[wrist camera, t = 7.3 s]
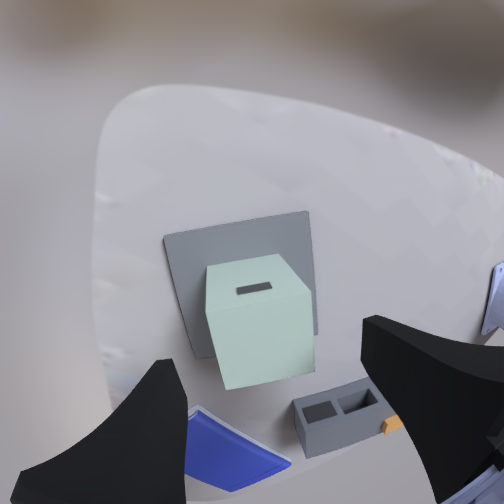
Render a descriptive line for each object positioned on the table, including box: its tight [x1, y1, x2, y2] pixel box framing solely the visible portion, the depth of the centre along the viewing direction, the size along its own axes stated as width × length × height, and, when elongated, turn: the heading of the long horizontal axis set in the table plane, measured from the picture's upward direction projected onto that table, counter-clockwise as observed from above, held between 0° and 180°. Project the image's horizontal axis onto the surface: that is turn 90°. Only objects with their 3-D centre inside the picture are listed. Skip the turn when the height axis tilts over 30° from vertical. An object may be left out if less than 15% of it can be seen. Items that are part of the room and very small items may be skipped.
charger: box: [206, 254, 315, 390], centre depth 14 cm, size 4×6×6 cm
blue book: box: [184, 404, 291, 492], centre depth 20 cm, size 2×8×12 cm
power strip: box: [293, 377, 404, 459], centre depth 18 cm, size 9×4×4 cm, turn 99°
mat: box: [163, 211, 318, 359], centre depth 16 cm, size 8×8×1 cm
